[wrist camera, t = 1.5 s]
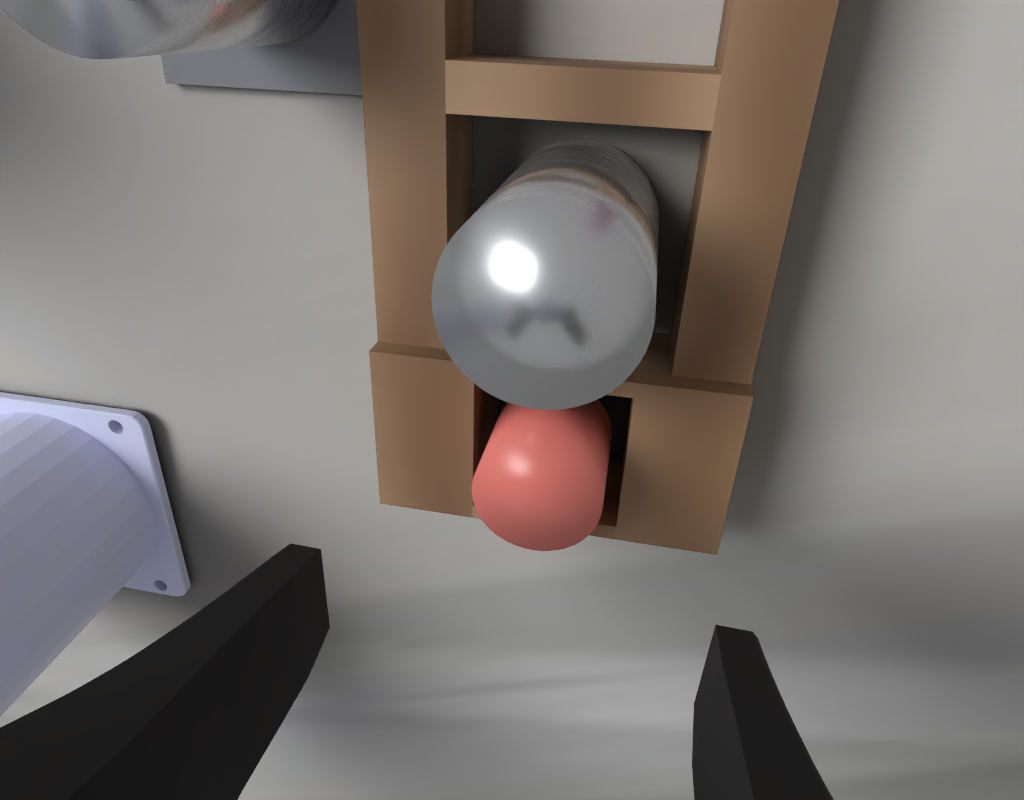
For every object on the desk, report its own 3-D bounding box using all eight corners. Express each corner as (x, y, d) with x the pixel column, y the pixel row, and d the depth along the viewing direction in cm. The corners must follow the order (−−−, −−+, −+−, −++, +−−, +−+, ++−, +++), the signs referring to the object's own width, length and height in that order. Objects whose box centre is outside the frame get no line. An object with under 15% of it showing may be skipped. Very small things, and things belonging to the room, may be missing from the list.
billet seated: (497, 291, 19) (433, 396, 14) (501, 133, 17) (428, 187, 12) (647, 306, 18) (639, 421, 13) (669, 145, 16) (671, 207, 11)
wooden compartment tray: (414, 445, 22) (380, 503, 19) (384, -300, 13) (318, -372, 11) (710, 486, 20) (716, 554, 18) (882, -313, 12) (939, -399, 10)
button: (497, 469, 19) (471, 540, 17) (499, 373, 18) (471, 434, 15) (606, 485, 19) (596, 559, 16) (617, 387, 18) (609, 452, 15)
